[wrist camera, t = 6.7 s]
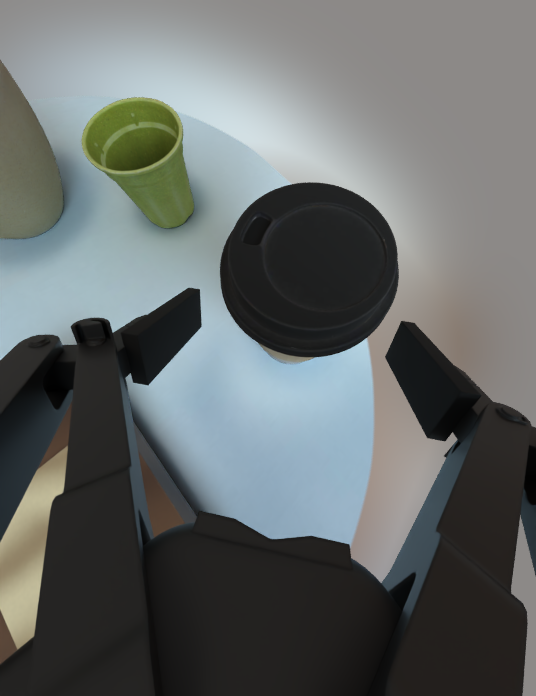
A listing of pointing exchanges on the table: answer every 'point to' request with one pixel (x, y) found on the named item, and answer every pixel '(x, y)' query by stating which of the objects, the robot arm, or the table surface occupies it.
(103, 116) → the plant pot
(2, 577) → the wooden serving stand
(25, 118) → the beige round bowl
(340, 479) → the table surface
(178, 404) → the table surface
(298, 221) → the coffee cup
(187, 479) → the table surface
